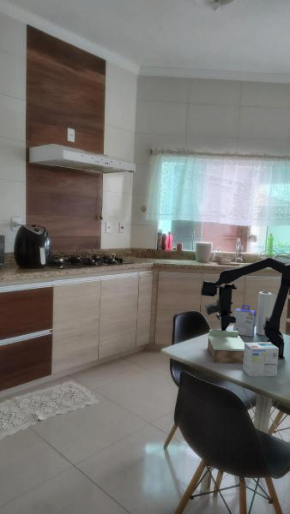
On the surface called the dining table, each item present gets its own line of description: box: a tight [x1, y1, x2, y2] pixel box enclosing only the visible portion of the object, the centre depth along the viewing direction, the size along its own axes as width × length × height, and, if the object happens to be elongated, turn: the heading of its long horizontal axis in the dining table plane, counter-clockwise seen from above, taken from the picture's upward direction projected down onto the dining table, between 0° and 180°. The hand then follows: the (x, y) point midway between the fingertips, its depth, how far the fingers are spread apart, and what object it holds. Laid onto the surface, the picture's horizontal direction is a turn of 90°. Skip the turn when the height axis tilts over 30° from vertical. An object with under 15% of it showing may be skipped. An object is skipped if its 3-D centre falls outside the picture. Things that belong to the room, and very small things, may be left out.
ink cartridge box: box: [232, 304, 257, 338], centre depth 172 cm, size 10×6×14 cm, turn 64°
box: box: [207, 337, 244, 365], centre depth 142 cm, size 13×16×5 cm
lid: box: [207, 329, 246, 351], centre depth 142 cm, size 14×17×3 cm
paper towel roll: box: [255, 291, 277, 337], centre depth 172 cm, size 7×6×21 cm
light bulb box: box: [242, 341, 279, 378], centre depth 127 cm, size 11×7×11 cm, turn 98°
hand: (222, 332), depth 152 cm, fingers closed
